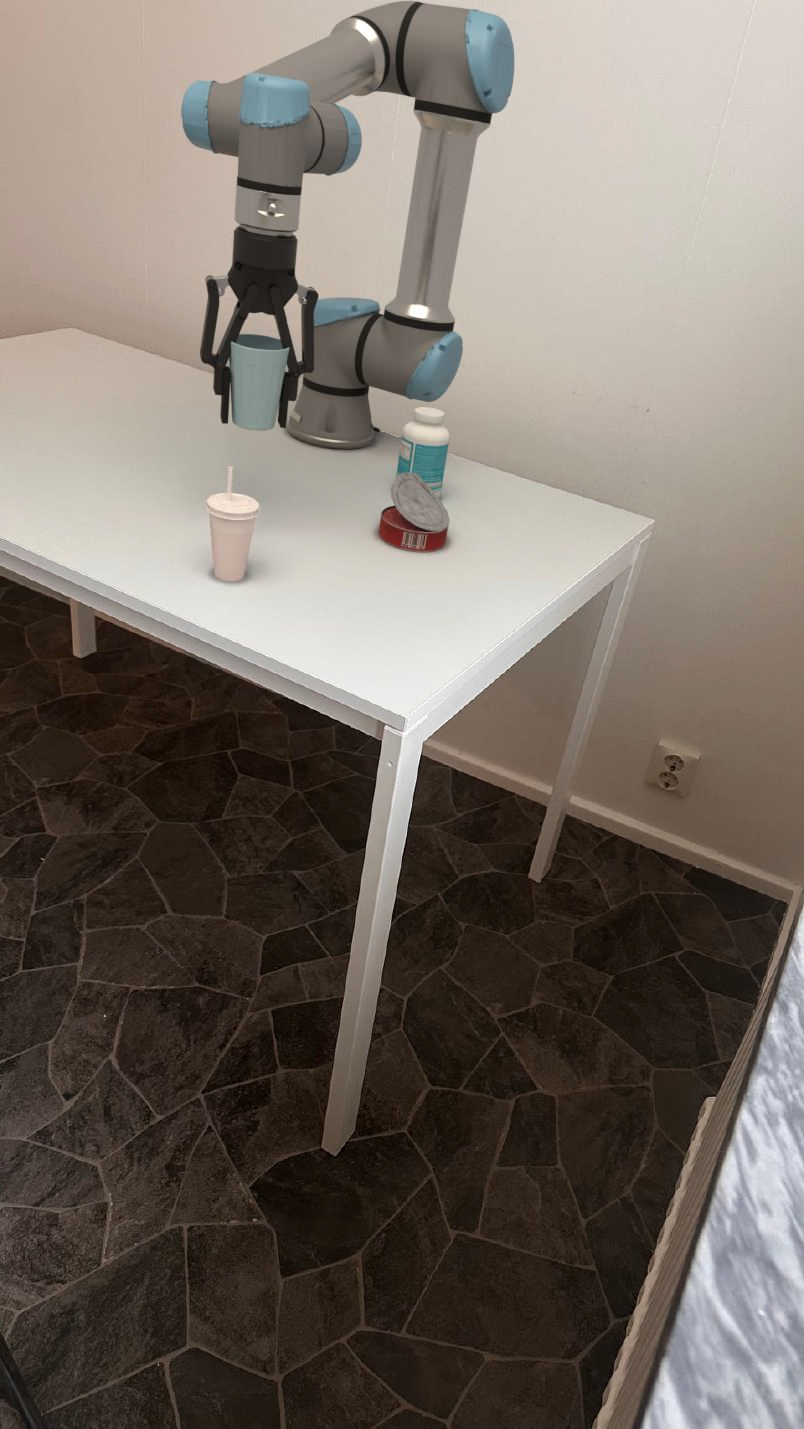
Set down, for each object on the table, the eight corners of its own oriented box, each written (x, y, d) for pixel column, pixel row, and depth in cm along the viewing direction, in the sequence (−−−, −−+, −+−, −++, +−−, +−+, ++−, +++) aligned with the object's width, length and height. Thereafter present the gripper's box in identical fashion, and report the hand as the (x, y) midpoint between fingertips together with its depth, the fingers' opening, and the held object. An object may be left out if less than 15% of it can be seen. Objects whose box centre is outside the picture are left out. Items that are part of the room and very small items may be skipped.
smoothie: (205, 561, 127) (210, 455, 119) (255, 566, 128) (263, 461, 120) (201, 583, 121) (205, 474, 114) (253, 588, 122) (261, 480, 115)
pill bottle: (446, 495, 160) (461, 412, 153) (428, 508, 154) (443, 422, 147) (405, 483, 162) (417, 400, 155) (385, 494, 156) (398, 409, 149)
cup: (291, 434, 128) (298, 351, 122) (233, 433, 125) (238, 348, 119) (272, 415, 134) (279, 335, 128) (217, 414, 130) (221, 332, 125)
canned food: (418, 554, 150) (456, 499, 147) (435, 577, 141) (475, 519, 139) (357, 516, 145) (395, 459, 142) (371, 538, 136) (411, 476, 134)
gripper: (182, 223, 111) (177, 426, 123) (354, 245, 116) (332, 437, 129) (179, 213, 117) (174, 407, 129) (342, 235, 122) (322, 419, 135)
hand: (253, 422), depth 129 cm, fingers closed on cup, 7 cm apart
